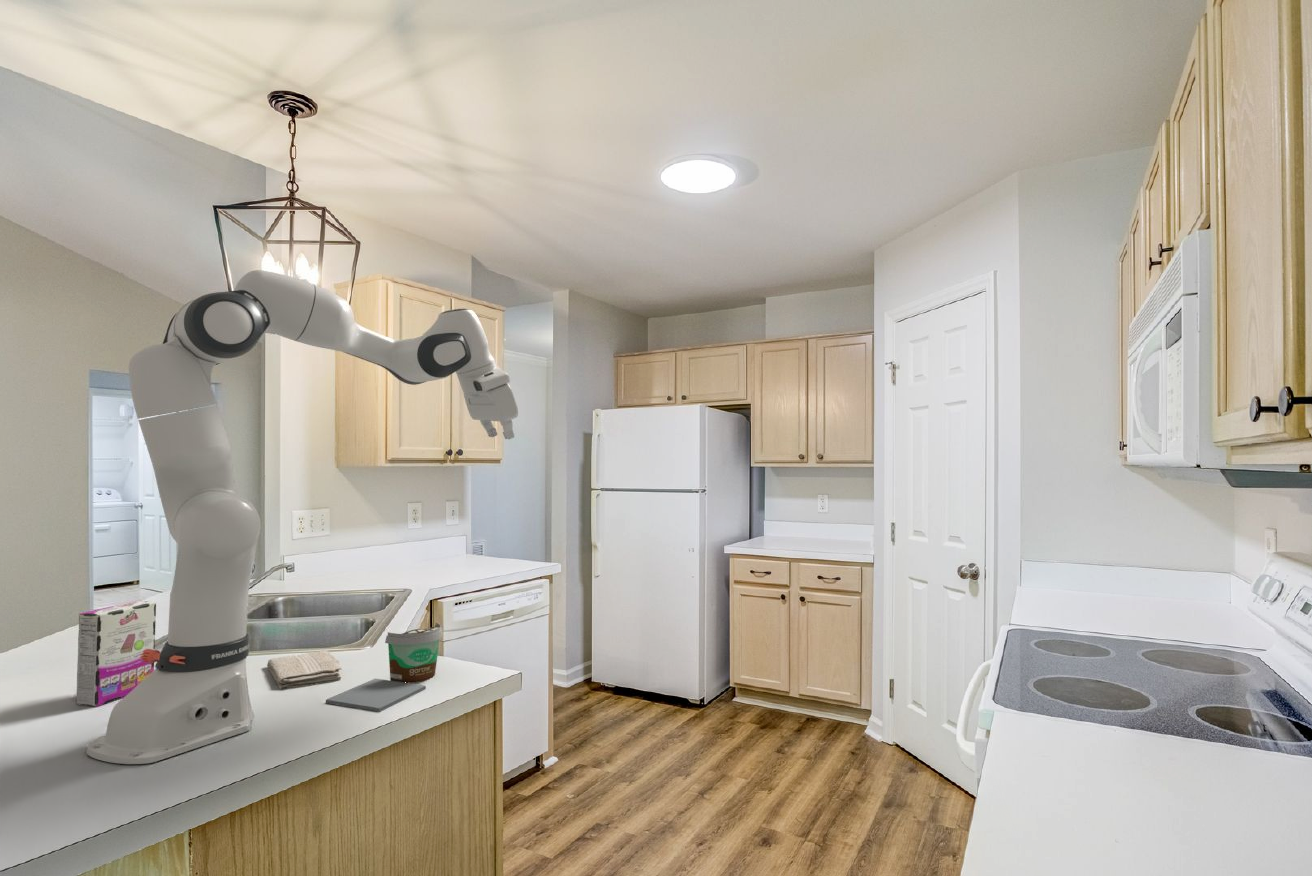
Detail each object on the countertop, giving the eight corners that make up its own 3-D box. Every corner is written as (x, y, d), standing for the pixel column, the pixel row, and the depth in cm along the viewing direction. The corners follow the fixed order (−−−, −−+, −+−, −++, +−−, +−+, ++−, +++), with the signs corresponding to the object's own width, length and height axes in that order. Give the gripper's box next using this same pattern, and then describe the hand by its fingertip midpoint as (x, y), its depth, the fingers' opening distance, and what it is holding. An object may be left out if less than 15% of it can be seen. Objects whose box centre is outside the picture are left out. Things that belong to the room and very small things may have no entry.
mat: (379, 711, 120) (379, 708, 120) (325, 702, 124) (325, 699, 124) (425, 688, 132) (425, 685, 132) (375, 681, 136) (375, 678, 136)
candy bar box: (133, 685, 131) (137, 600, 131) (154, 687, 130) (158, 601, 130) (72, 705, 120) (77, 612, 120) (95, 707, 119) (100, 614, 119)
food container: (400, 689, 132) (402, 638, 132) (383, 682, 135) (385, 632, 136) (453, 674, 141) (455, 626, 142) (436, 668, 145) (438, 622, 146)
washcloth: (279, 693, 129) (280, 677, 129) (264, 669, 143) (265, 654, 144) (345, 682, 137) (346, 666, 137) (325, 660, 151) (326, 646, 151)
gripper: (451, 385, 156) (472, 440, 160) (485, 383, 140) (507, 445, 143) (475, 376, 160) (495, 430, 163) (511, 374, 143) (532, 434, 147)
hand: (501, 437), depth 153 cm, fingers open, 8 cm apart
